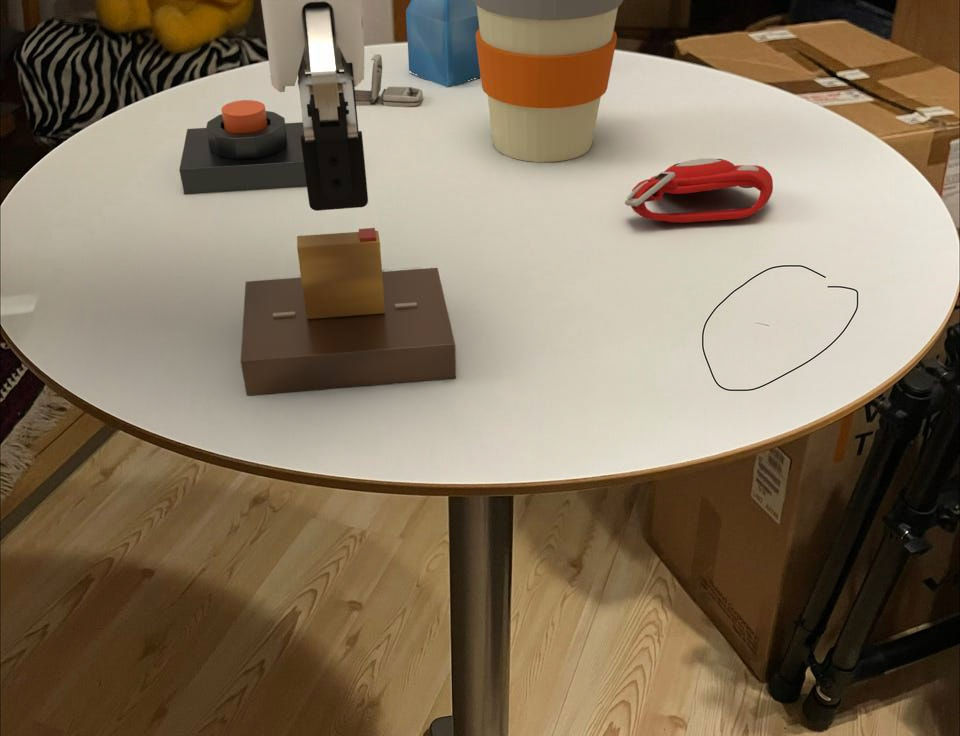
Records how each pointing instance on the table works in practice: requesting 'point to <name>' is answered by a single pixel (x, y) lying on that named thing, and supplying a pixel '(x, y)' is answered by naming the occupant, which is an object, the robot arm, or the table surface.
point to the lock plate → (346, 337)
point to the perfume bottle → (443, 40)
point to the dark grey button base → (243, 157)
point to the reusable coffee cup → (545, 73)
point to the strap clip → (387, 91)
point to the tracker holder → (701, 188)
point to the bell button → (244, 116)
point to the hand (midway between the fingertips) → (336, 171)
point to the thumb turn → (341, 274)
